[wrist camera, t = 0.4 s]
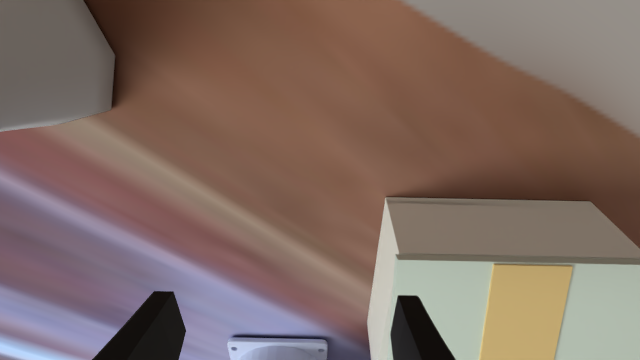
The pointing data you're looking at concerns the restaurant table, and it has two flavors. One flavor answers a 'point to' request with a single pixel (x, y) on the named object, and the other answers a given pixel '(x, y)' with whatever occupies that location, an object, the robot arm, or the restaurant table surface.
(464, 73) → the restaurant table surface
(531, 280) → the box lid
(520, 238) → the parcel box
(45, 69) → the flask
